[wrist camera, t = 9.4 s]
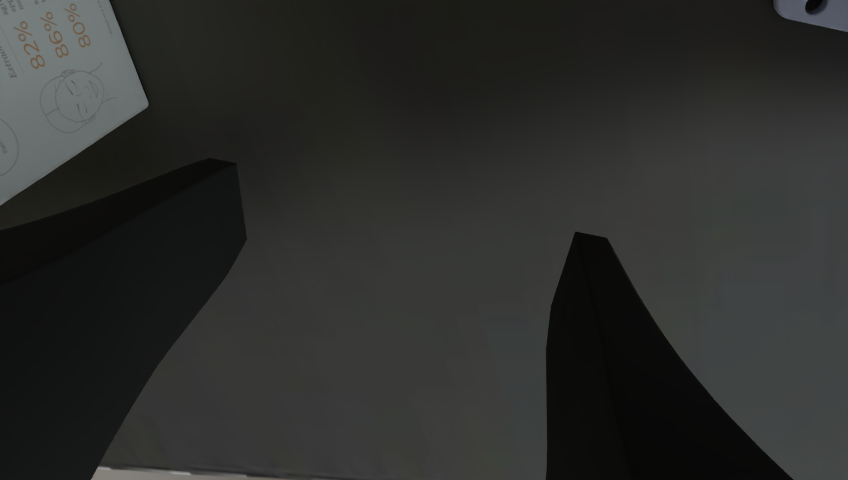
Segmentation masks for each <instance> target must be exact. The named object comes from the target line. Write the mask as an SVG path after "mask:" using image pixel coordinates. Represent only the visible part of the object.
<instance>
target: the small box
mask: <svg viewBox="0 0 848 480" xmlns="http://www.w3.org/2000/svg"><path fill="white" fill-rule="evenodd" d="M147 107H148V100H147V98H146V95H145V93H144V90H143V88H142V85H141V83H140V80H139V77H138V75H137V72H136V69H135V67H134V64H133V62H132V59H131V56H130V54H129V51H128V49H127V46H126V43H125V41H124V38H123V35H122V33H121V30H120V28H119V25H118V22H117V20H116V17H115V15H114V12H113V9H112V7H111V4H110V1H109V0H0V205H2V204H3V203H5V202H6V201H8V200H9V199H11V198H12V197H14V196H15V195H16V194H18V193H19V192H21V191H23V190H24V189H26V188H27V187H29V186H30V185H32V184H33V183H35V182H36V181H38V180H39V179H41V178H42V177H44V176H45V175H47V174H48V173H50V172H51V171H53V170H54V169H56V168H57V167H59V166H60V165H62V164H63V163H65V162H66V161H68V160H69V159H71V158H72V157H74V156H75V155H77V154H78V153H80V152H81V151H83V150H84V149H85V148H87V147H88V146H90V145H92V144H93V143H95V142H96V141H97V140H99V139H100V138H102V137H103V136H105V135H106V134H108V133H109V132H111V131H112V130H114V129H115V128H117V127H118V126H120V125H121V124H123V123H124V122H126V121H127V120H129V119H130V118H132V117H133V116H135V115H136V114H138V113H139V112H141V111H143V110H144V109H146V108H147Z"/></svg>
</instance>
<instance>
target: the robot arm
mask: <svg viewBox="0 0 848 480" xmlns="http://www.w3.org/2000/svg"><path fill="white" fill-rule="evenodd" d="M807 1H808V0H773V5H774V9H775V10H776V12H777V13H778V14H779V15H780V16H782V17H784V18H786V19H790V20H795V21H799V22H804V23H808V24H813V25H818V26H822V27H827V28H831V29H836V30H841V31H845V32H848V0H822V3H821V4H820V5H819V6H818V8H816V9H814V10H812V11H806V10H805V5H806V2H807ZM246 240H247V237H246V230H245V223H244V215H243V208H242V201H241V194H240V187H239V180H238V173H237V166H236V163H232V162H227V161H222V160H217V159H212V158H208V159H205V160H201V161H198V162H195V163H192V164H189V165H187V166H184V167H181V168H179V169H176V170H173V171H171V172H168V173H166V174H163V175H161V176H158V177H156V178H153V179H151V180H148V181H145V182H143V183H140V184H138V185H135V186H133V187H130V188H128V189H125V190H123V191H120V192H118V193H115V194H112V195H110V196H107V197H104V198H101V199H98V200H96V201H93V202H90V203H87V204H84V205H82V206H79V207H76V208H73V209H70V210H68V211H65V212H62V213H59V214H56V215H53V216H50V217H46V218H43V219H40V220H36V221H33V222H30V223H26V224H22V225H19V226H15V227H12V228H8V229H4V230H1V231H0V480H91V479H92V477H93V475H94V473H95V471H96V469H97V467H98V465H99V463H100V462H101V460H102V458H103V456H104V454H105V452H106V450H107V449H108V447H109V445H110V443H111V442H112V440H113V438H114V436H115V435H116V433H117V431H118V429H119V428H120V426H121V424H122V423H123V421H124V419H125V417H126V416H127V414H128V412H129V410H130V409H131V407H132V405H133V404H134V402H135V401H136V399H137V397H138V396H139V394H140V393H141V391H142V389H143V388H144V386H145V384H146V383H147V381H148V380H149V378H150V376H151V375H152V373H153V372H154V370H155V369H156V367H157V366H158V364H159V363H160V362H161V360H162V359H163V357H164V356H165V355H166V353H167V352H168V351H169V349H170V348H171V347H172V345H173V344H174V343H175V342H176V340H177V339H178V338H179V336H180V335H181V334H182V333H183V331H184V330H185V329H186V328H187V326H188V325H189V324H190V322H191V321H192V320H193V319H194V317H195V316H196V315H197V313H198V312H199V311H200V310H201V308H202V307H203V306H204V305H205V303H206V302H207V301H208V299H209V298H210V297H211V295H212V294H213V293H214V292H215V290H216V289H217V288H218V286H219V285H220V284H221V282H222V281H223V280H224V278H225V277H226V276H227V274H228V272H229V270H230V269H231V267H232V265H233V264H234V262H235V260H236V258H237V257H238V255H239V253H240V251H241V249H242V247H243V245H244V243H245V242H246ZM546 385H547V472H546V480H793V479H792V478H791V477H790V476H789V475H788V474H787V473H786V472H785V471H784V470H782V469H781V468H780V467H779V466H778V465H777V464H776V463H775V462H774V461H773V460H772V459H771V458H770V457H769V456H768V455H767V454H766V453H765V452H764V451H763V450H762V449H761V448H760V447H759V446H758V445H757V444H756V443H755V442H754V441H753V440H752V439H751V438H750V437H749V436H748V435H747V434H746V433H745V432H744V431H743V430H742V429H741V428H740V427H739V426H738V425H737V424H736V423H735V422H734V421H733V420H732V419H731V417H730V416H729V415H728V414H727V413H726V412H725V411H724V410H723V409H722V408H721V406H720V405H719V404H718V403H717V402H716V401H715V400H714V399H713V397H712V396H711V395H710V394H709V393H708V391H707V390H706V389H705V388H704V387H703V385H702V384H701V383H700V382H699V381H698V380H697V378H696V377H695V376H694V375H693V374H692V372H691V371H690V370H689V369H688V367H687V366H686V365H685V363H684V362H683V361H682V360H681V358H680V357H679V356H678V354H677V353H676V352H675V350H674V349H673V347H672V346H671V344H670V343H669V342H668V340H667V339H666V337H665V336H664V335H663V333H662V332H661V330H660V329H659V327H658V326H657V324H656V322H655V321H654V319H653V318H652V316H651V314H650V313H649V311H648V310H647V308H646V306H645V305H644V303H643V302H642V300H641V298H640V297H639V295H638V293H637V292H636V290H635V288H634V286H633V285H632V283H631V281H630V279H629V277H628V276H627V274H626V272H625V270H624V268H623V266H622V265H621V263H620V261H619V259H618V257H617V255H616V253H615V251H614V249H613V248H612V246H611V244H610V242H609V241H608V239H607V238H605V237H600V236H595V235H590V234H585V233H580V232H575V234H574V237H573V240H572V243H571V247H570V250H569V253H568V256H567V259H566V262H565V265H564V268H563V271H562V274H561V277H560V280H559V283H558V286H557V289H556V293H555V296H554V299H553V302H552V305H551V311H550V320H549V328H548V337H547V346H546Z"/></svg>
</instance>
